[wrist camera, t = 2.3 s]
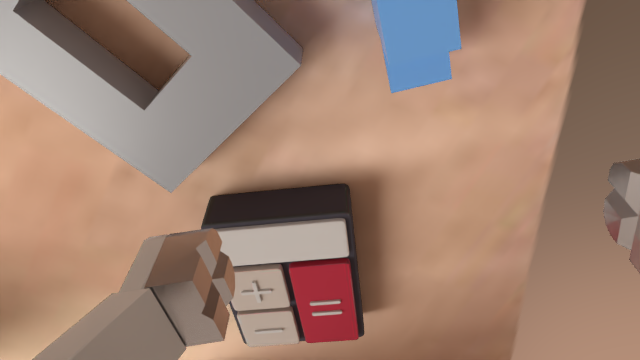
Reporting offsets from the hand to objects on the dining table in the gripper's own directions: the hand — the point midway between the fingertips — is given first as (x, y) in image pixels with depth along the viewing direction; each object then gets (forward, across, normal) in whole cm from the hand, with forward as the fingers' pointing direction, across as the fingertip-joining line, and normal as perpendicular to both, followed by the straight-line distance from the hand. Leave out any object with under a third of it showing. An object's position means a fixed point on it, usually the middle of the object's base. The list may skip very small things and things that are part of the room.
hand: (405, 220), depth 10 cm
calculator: (+22, +9, +21) cm, 31 cm away
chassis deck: (+21, +14, -1) cm, 26 cm away
